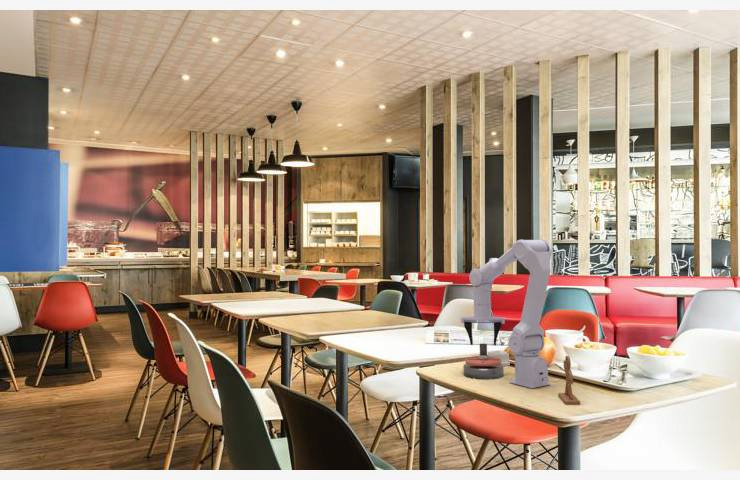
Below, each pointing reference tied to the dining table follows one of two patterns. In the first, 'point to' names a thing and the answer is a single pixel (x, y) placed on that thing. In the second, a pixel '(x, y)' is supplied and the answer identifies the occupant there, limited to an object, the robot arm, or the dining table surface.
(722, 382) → the dining table surface
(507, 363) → the mechanical component
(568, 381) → the brown statuette
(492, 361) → the handwheel
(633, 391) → the dining table surface
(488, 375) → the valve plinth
